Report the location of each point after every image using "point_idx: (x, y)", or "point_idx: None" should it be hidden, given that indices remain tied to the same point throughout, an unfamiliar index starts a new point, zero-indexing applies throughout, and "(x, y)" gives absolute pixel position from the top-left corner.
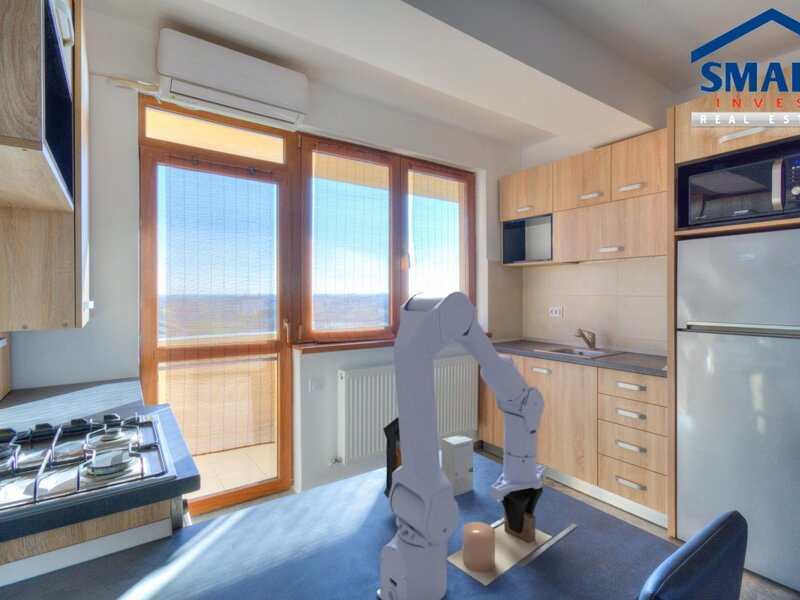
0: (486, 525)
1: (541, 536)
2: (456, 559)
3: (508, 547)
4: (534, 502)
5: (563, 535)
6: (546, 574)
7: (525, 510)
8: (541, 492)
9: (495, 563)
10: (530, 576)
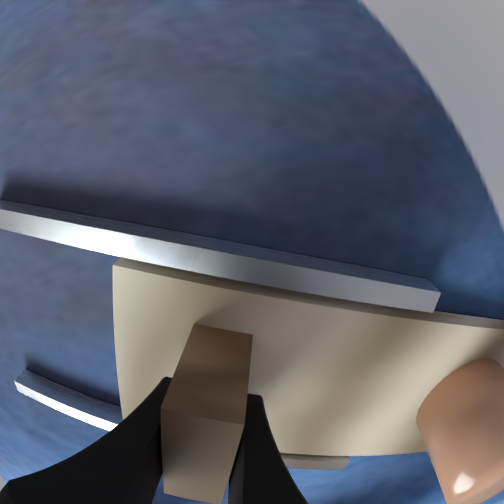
0: (465, 489)
1: (149, 307)
2: None
3: (339, 383)
4: (112, 477)
5: (69, 223)
6: (380, 199)
7: (154, 455)
8: (27, 501)
9: (455, 368)
10: (426, 250)
